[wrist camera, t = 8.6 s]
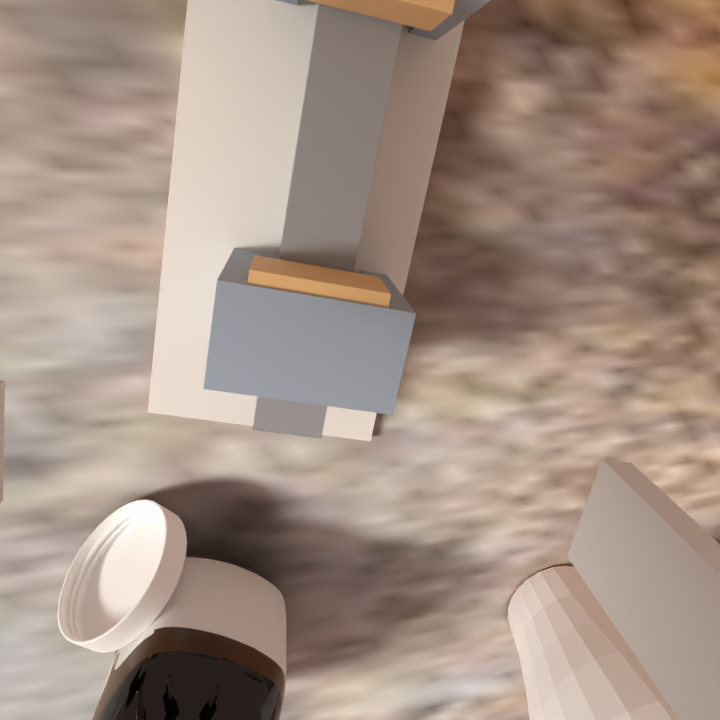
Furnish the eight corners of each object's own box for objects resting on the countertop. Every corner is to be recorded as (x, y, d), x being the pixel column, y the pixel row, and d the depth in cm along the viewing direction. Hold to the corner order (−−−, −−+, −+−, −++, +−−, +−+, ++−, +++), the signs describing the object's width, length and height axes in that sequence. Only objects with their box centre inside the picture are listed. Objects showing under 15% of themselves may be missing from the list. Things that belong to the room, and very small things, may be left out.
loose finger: (223, 332, 28) (203, 389, 22) (235, 236, 27) (218, 265, 20) (369, 355, 29) (392, 414, 23) (388, 264, 28) (419, 300, 21)
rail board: (150, 407, 30) (129, 445, 26) (218, -290, 21) (203, -383, 18) (369, 436, 31) (380, 476, 28) (510, -195, 23) (553, -261, 19)
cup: (563, 695, 39) (694, 958, 26) (435, 633, 36) (514, 895, 24) (672, 578, 37) (873, 804, 24) (546, 502, 34) (698, 714, 21)
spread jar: (231, 693, 36) (206, 930, 25) (39, 638, 33) (-82, 877, 22) (321, 536, 33) (337, 728, 22) (119, 461, 30) (25, 637, 19)
